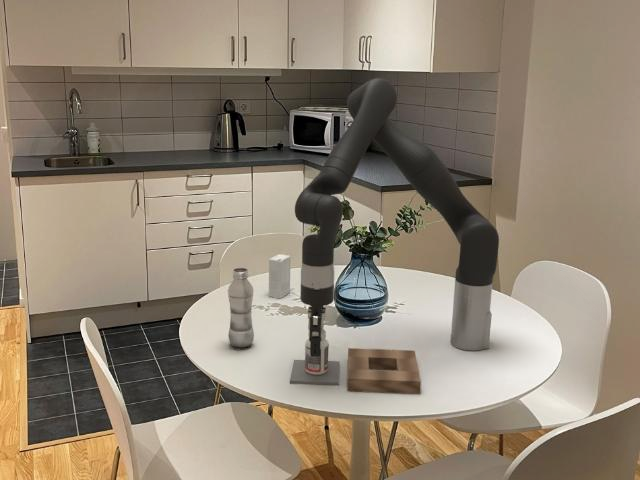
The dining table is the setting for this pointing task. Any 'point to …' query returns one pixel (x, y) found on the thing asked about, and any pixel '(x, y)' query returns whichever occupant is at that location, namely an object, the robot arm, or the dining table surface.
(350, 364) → the walnut dock
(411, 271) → the dining table surface
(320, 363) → the pill bottle
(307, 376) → the charcoal mat
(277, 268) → the skincare box
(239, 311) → the plastic bottle
